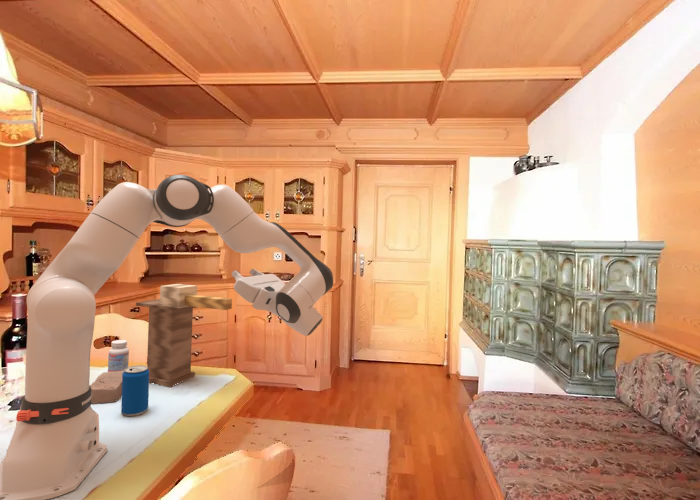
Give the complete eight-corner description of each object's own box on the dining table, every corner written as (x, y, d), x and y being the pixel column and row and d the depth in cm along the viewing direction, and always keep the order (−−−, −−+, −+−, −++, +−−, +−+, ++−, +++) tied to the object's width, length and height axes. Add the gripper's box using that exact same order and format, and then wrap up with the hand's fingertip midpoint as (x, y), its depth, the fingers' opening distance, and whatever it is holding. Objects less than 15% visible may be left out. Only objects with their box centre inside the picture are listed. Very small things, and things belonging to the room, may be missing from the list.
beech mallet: (236, 307, 127) (236, 289, 127) (220, 311, 119) (221, 291, 119) (178, 300, 135) (178, 283, 135) (159, 304, 127) (160, 285, 127)
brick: (101, 384, 125) (101, 370, 125) (130, 382, 127) (130, 368, 127) (83, 406, 109) (83, 390, 109) (117, 403, 112) (117, 387, 111)
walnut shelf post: (202, 377, 134) (205, 302, 133) (176, 389, 123) (179, 307, 122) (162, 369, 140) (164, 298, 139) (133, 380, 128) (136, 302, 128)
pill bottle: (103, 376, 131) (104, 343, 131) (115, 370, 137) (116, 338, 137) (121, 377, 131) (122, 344, 131) (131, 371, 137) (133, 339, 137)
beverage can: (136, 405, 110) (137, 363, 110) (153, 409, 108) (154, 366, 108) (115, 414, 104) (116, 370, 104) (133, 419, 102) (134, 374, 102)
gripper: (296, 285, 127) (265, 261, 131) (262, 291, 108) (227, 264, 111) (287, 300, 128) (256, 277, 132) (252, 310, 109) (217, 282, 112)
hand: (242, 271), depth 121 cm, fingers open, 8 cm apart
